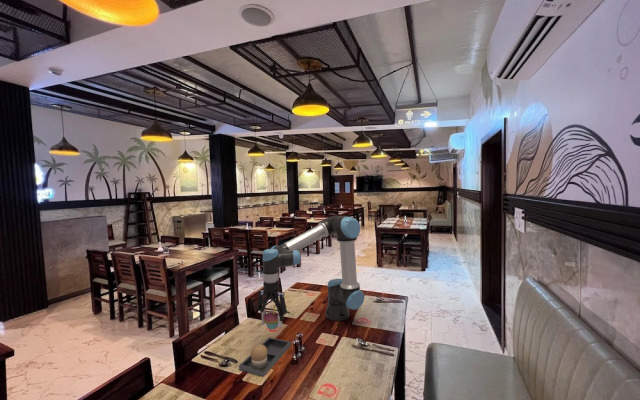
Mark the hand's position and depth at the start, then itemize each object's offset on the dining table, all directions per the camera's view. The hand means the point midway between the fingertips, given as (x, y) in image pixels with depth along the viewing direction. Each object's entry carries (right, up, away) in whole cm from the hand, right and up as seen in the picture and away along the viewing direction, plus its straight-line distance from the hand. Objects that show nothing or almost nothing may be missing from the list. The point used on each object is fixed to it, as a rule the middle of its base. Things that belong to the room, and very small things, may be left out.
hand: (272, 325), depth 139 cm
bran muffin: (-4, -13, -10) cm, 17 cm away
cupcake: (0, -1, 0) cm, 1 cm away
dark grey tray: (-2, -14, -5) cm, 15 cm away
